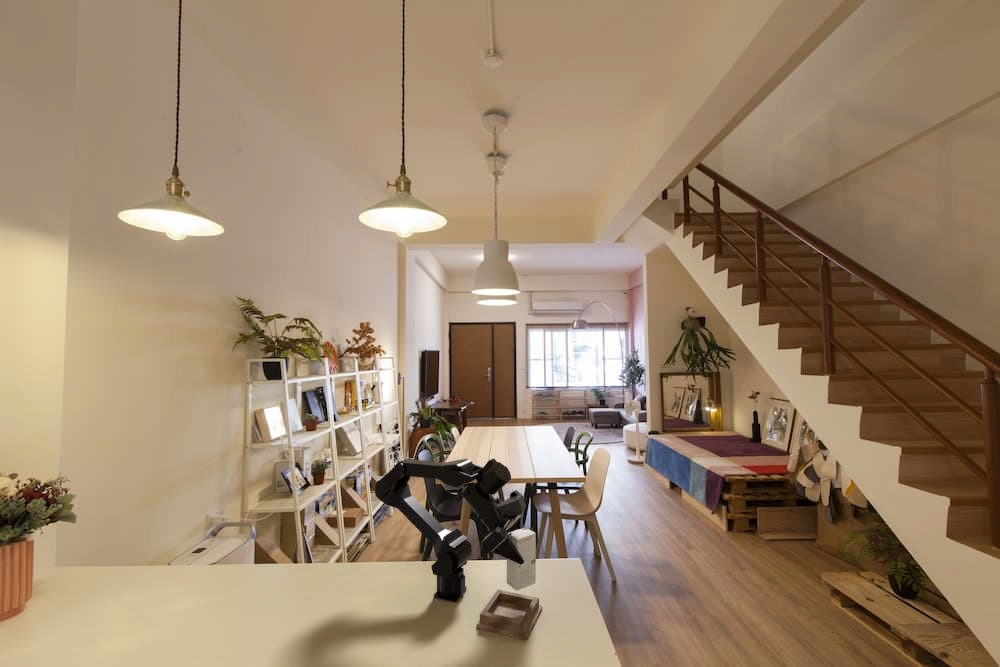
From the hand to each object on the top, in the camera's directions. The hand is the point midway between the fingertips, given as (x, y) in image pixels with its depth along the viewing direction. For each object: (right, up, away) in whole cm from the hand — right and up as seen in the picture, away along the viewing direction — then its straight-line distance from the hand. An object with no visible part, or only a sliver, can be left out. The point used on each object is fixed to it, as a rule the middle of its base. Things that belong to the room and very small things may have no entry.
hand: (526, 556), depth 106 cm
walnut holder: (-4, -13, -3) cm, 14 cm away
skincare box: (-1, -7, 0) cm, 7 cm away
